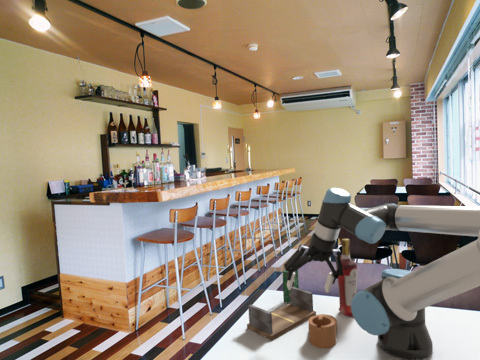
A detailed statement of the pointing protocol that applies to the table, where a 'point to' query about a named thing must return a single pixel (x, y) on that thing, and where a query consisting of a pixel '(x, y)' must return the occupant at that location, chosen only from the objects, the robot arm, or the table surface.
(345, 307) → the liquor
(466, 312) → the table surface
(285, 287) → the coffee box
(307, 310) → the board
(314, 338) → the bracket
